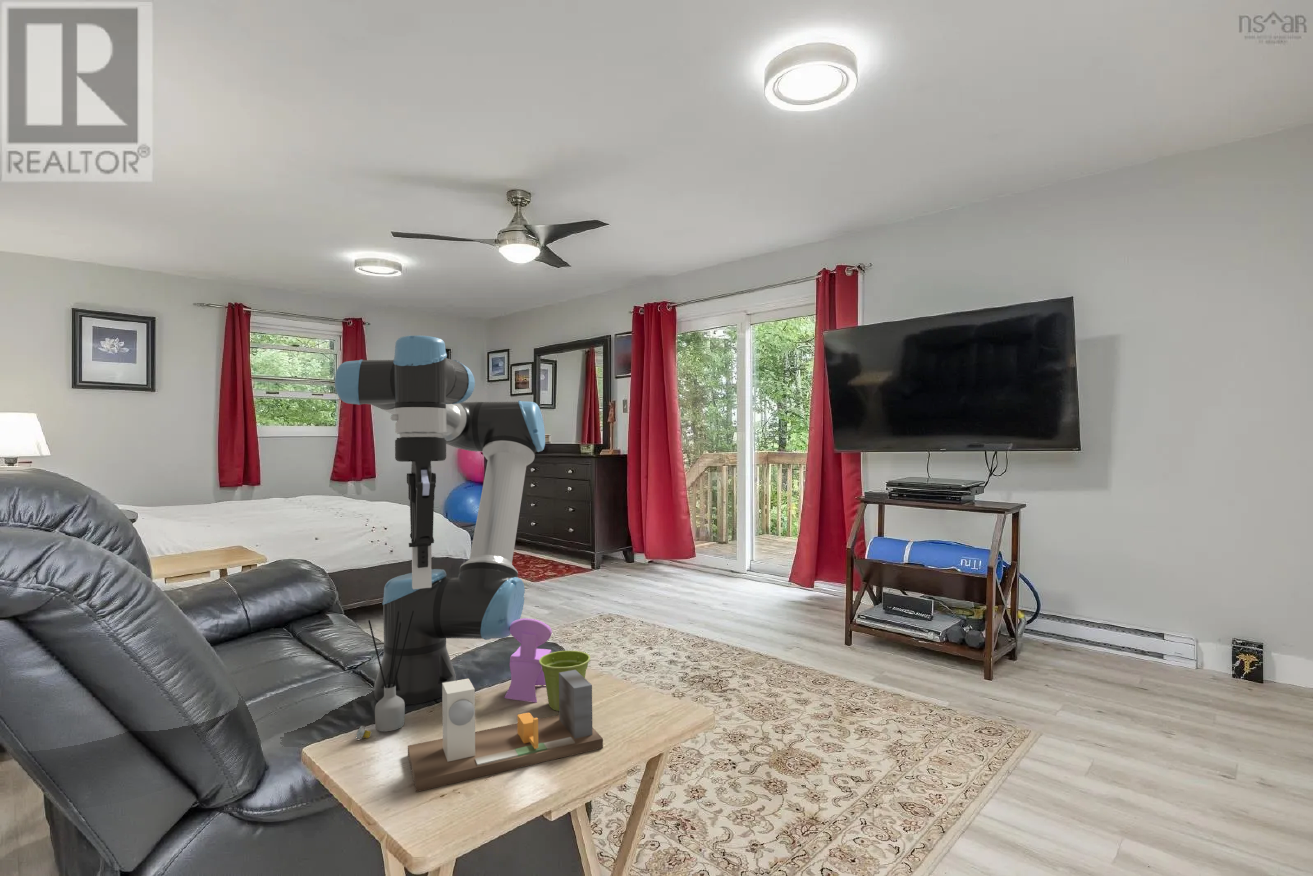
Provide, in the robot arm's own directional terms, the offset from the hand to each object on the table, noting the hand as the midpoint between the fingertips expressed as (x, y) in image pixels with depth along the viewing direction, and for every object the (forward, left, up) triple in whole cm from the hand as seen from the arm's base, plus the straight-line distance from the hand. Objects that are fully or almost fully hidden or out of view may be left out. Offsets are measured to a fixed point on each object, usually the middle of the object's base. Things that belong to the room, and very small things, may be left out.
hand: (421, 587), depth 99 cm
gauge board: (+4, +12, -26) cm, 29 cm away
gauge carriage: (+4, +5, -25) cm, 26 cm away
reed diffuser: (-12, -4, -27) cm, 29 cm away
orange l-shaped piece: (+6, +15, -25) cm, 30 cm away
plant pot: (-9, +26, -27) cm, 38 cm away
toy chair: (-18, +21, -26) cm, 38 cm away
